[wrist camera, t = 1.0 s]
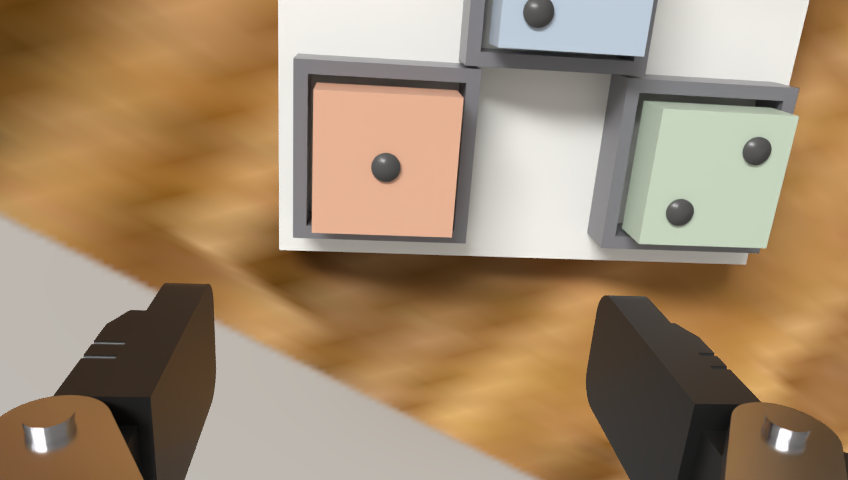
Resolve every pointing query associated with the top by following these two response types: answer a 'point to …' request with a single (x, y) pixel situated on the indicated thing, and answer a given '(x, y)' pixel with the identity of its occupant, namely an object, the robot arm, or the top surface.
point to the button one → (385, 159)
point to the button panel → (527, 115)
